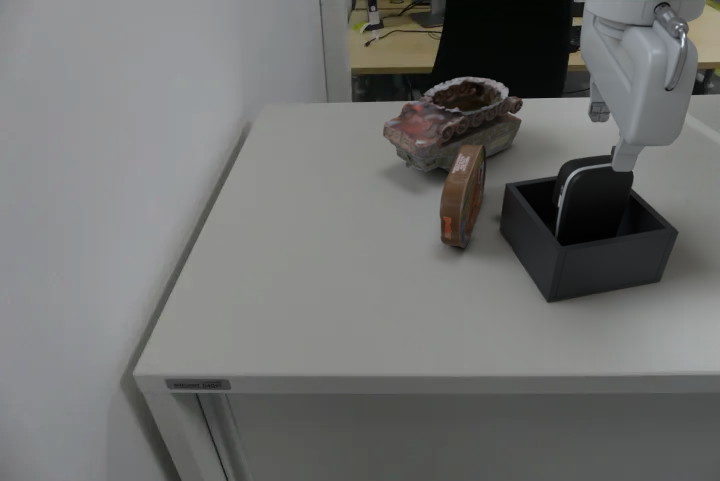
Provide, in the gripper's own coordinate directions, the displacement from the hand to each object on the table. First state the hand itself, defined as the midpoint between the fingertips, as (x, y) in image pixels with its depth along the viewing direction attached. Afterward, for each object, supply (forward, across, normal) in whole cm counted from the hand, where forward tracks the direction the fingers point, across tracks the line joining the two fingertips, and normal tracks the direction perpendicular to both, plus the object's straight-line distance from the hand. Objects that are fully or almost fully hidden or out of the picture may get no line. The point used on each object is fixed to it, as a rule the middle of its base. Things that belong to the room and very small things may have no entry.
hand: (607, 141), depth 53 cm
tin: (+15, +6, +13) cm, 20 cm away
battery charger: (+14, +1, 0) cm, 14 cm away
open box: (+14, 0, 0) cm, 14 cm away
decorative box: (+15, +20, +13) cm, 28 cm away
